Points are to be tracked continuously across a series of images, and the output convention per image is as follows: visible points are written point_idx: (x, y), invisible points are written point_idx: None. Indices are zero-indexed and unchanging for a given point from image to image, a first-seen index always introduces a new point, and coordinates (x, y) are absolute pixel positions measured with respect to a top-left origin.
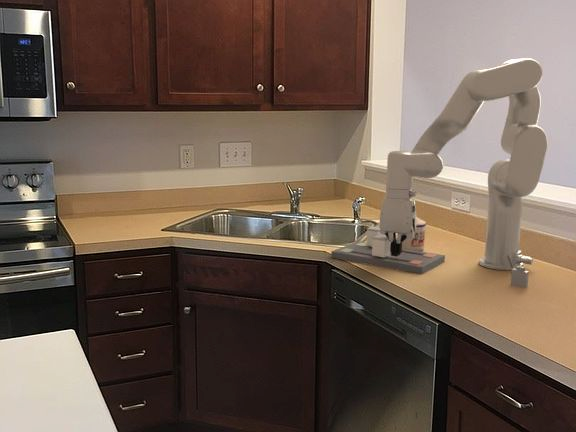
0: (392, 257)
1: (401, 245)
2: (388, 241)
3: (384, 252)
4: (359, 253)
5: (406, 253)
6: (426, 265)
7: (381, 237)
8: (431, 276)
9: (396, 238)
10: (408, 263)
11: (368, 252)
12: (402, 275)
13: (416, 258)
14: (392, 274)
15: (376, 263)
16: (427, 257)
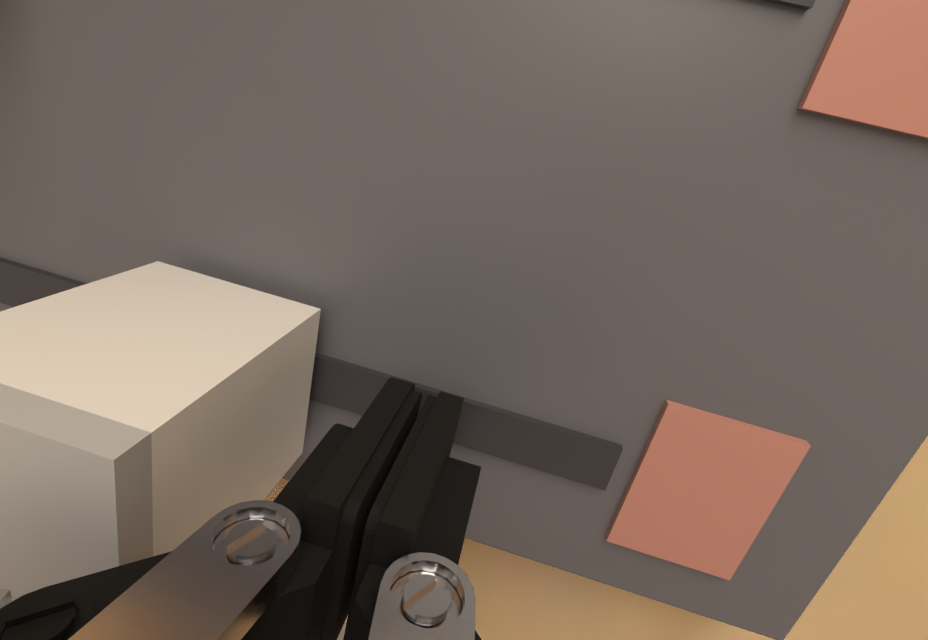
0: (380, 378)
1: (457, 558)
2: (183, 484)
3: (271, 484)
4: (3, 300)
5: (503, 11)
6: (837, 557)
7: (16, 577)
8: (852, 621)
9: (286, 562)
10: (607, 541)
11: (46, 208)
12: (571, 635)
13: (695, 281)
14: (487, 624)
15: None
16: (894, 148)
